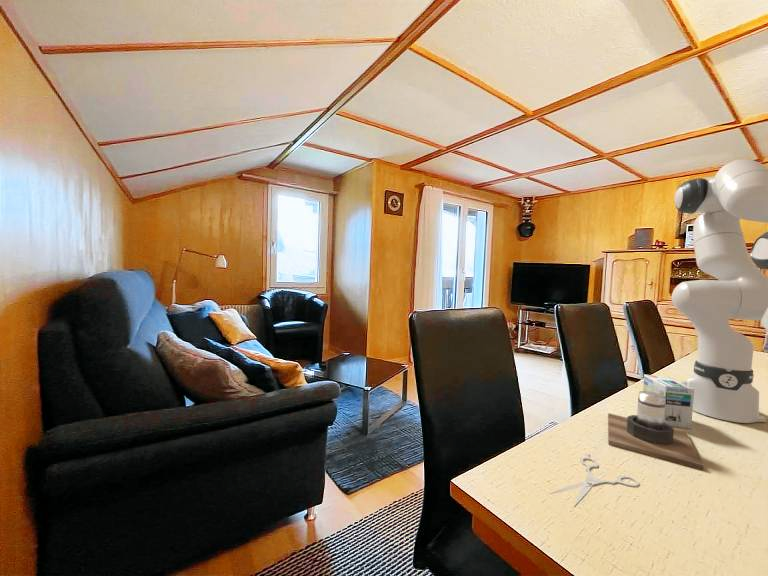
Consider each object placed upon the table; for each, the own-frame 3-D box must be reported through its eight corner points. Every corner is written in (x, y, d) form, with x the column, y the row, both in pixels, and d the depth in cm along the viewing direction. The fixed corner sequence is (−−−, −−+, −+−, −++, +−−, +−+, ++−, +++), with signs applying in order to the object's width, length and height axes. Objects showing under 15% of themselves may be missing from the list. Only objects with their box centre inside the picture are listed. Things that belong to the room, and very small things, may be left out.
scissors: (644, 479, 63) (594, 518, 52) (644, 483, 63) (593, 523, 52) (586, 452, 72) (532, 481, 61) (586, 455, 72) (532, 485, 61)
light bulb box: (692, 429, 85) (696, 388, 84) (662, 426, 86) (666, 386, 86) (665, 412, 95) (669, 375, 95) (639, 409, 97) (642, 373, 96)
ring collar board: (608, 416, 91) (609, 402, 90) (685, 434, 82) (686, 419, 82) (608, 444, 76) (609, 427, 76) (702, 470, 67) (704, 451, 67)
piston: (634, 428, 82) (637, 389, 82) (660, 434, 80) (663, 394, 79) (636, 436, 78) (640, 395, 77) (664, 443, 75) (668, 401, 75)
